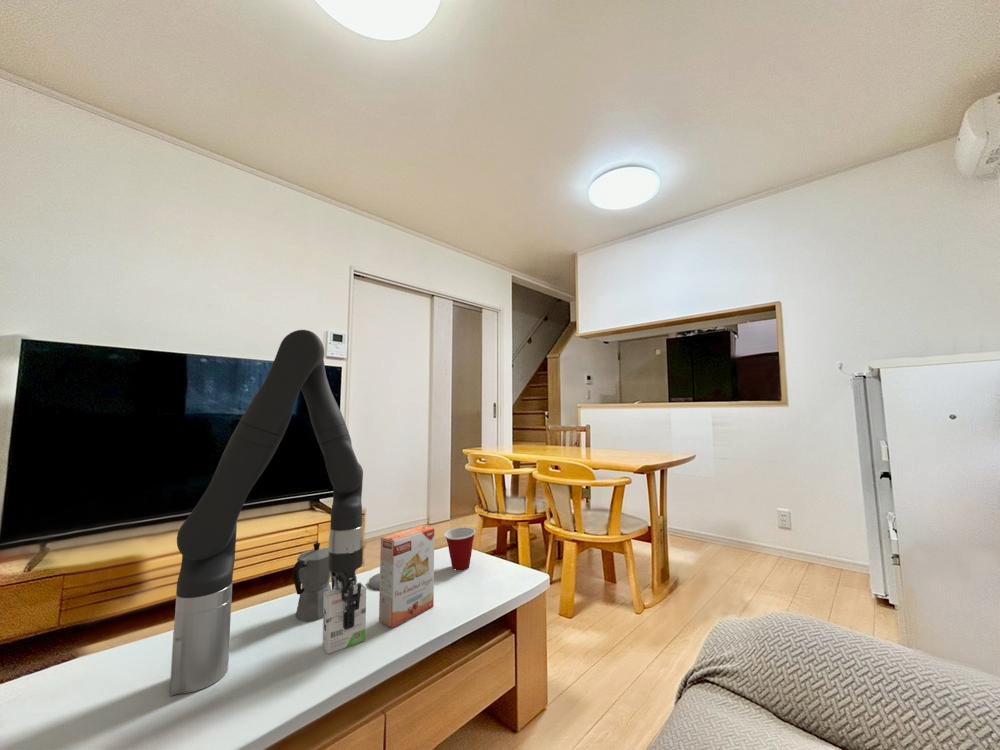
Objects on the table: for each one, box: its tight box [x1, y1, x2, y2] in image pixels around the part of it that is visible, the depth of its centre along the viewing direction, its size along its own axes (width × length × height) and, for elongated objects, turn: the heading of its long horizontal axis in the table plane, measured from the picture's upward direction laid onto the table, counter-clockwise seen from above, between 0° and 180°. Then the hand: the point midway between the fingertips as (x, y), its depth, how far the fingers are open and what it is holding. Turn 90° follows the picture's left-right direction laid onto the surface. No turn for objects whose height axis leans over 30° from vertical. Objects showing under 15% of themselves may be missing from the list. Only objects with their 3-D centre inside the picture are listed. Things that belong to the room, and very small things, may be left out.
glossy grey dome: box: [368, 572, 380, 590], centre depth 122 cm, size 12×12×1 cm
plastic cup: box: [443, 526, 476, 571], centre depth 133 cm, size 11×11×12 cm
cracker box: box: [378, 525, 435, 629], centre depth 103 cm, size 14×6×21 cm, turn 143°
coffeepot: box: [291, 542, 332, 622], centre depth 103 cm, size 15×9×18 cm, turn 169°
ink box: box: [322, 582, 367, 655], centre depth 90 cm, size 9×5×12 cm, turn 126°
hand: (344, 622), depth 90 cm, fingers closed on ink box, 5 cm apart
